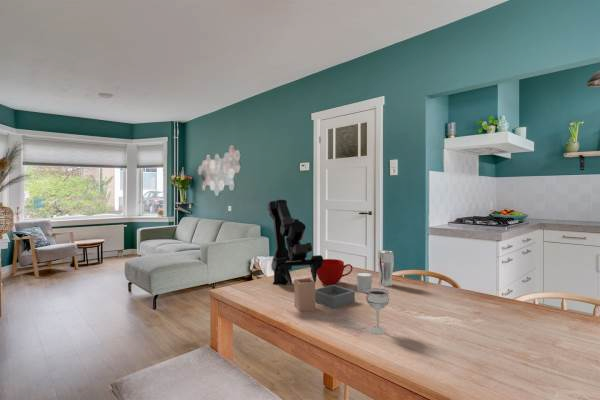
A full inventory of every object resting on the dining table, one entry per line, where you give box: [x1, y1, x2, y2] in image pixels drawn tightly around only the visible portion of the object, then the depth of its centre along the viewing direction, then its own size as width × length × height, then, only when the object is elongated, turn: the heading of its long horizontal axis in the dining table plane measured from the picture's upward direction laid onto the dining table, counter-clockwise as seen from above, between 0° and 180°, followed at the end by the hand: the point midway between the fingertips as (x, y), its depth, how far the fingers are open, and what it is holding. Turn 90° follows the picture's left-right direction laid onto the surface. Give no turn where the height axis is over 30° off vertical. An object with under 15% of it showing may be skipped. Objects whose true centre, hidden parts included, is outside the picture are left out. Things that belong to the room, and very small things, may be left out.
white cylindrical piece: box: [355, 272, 373, 294], centre depth 141 cm, size 7×7×7 cm
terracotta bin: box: [293, 277, 316, 313], centre depth 121 cm, size 6×6×10 cm
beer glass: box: [377, 249, 395, 288], centre depth 150 cm, size 7×7×15 cm
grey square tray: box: [315, 284, 356, 309], centre depth 128 cm, size 12×12×4 cm
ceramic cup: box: [316, 258, 354, 286], centre depth 152 cm, size 13×17×10 cm
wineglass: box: [365, 287, 390, 335], centre depth 101 cm, size 7×7×12 cm
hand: (303, 282), depth 122 cm, fingers open, 9 cm apart
